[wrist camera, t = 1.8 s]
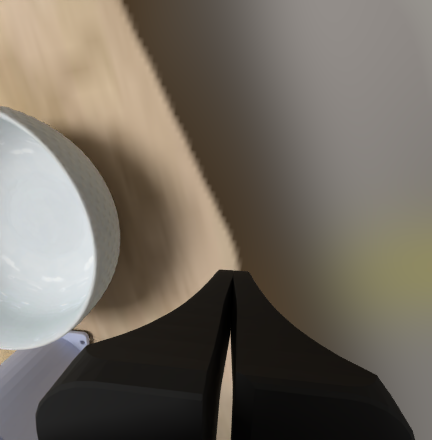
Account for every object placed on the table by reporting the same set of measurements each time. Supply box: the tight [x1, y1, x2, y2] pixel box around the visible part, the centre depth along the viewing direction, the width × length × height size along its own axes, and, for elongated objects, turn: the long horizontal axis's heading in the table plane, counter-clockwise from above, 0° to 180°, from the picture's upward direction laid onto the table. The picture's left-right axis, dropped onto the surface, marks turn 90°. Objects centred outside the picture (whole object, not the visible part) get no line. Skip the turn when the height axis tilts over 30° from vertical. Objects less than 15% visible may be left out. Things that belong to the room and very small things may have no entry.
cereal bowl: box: [0, 106, 120, 350], centre depth 19 cm, size 17×17×7 cm
